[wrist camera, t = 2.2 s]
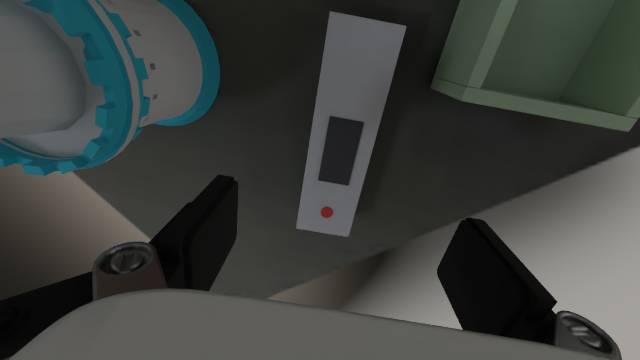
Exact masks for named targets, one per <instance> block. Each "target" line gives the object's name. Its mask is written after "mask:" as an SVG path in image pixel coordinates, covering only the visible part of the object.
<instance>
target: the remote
mask: <svg viewBox="0 0 640 360" xmlns="http://www.w3.org/2000/svg"><path fill="white" fill-rule="evenodd" d="M405 30H406V26H404V25H399V24H394V23H389V22H384V21H379V20H373V19H368V18H363V17H358V16H353V15H347V14H342V13H337V12H332V11H330V14H329V20H328V27H327V33H326V39H325V46H324V52H323V59H322V65H321V72H320V78H319V84H318V91H317V97H316V104H315V110H314V116H313V123H312V129H311V136H310V142H309V148H308V155H307V161H306V168H305V174H304V181H303V187H302V193H301V200H300V206H299V213H298V219H297V225H296V228H297V229H303V230H309V231H315V232H321V233H327V234H333V235H339V236H345V237H348V236H349V233H350V229H351V226H352V222H353V218H354V215H355V211H356V208H357V204H358V200H359V197H360V193H361V190H362V186H363V182H364V179H365V175H366V171H367V168H368V164H369V161H370V157H371V153H372V150H373V146H374V143H375V139H376V135H377V132H378V128H379V124H380V121H381V117H382V114H383V110H384V106H385V103H386V99H387V96H388V92H389V88H390V85H391V81H392V77H393V74H394V70H395V67H396V63H397V59H398V56H399V52H400V49H401V45H402V41H403V38H404V34H405Z"/></svg>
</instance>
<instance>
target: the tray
mask: <svg viewBox="0 0 640 360" xmlns="http://www.w3.org/2000/svg"><path fill="white" fill-rule="evenodd" d="M430 88H431V89H434V90H436V91H439V92H441V93H444V94H446V95H448V96H451V97H453V98H456V99H458V100H460V101H464V102H470V103H475V104H480V105H486V106H491V107H497V108H502V109H507V110H513V111H518V112H524V113H529V114H534V115H540V116H545V117H551V118H556V119H561V120H567V121H572V122H578V123H583V124H588V125H594V126H599V127H605V128H610V129H615V130H621V131H626V132H627V131H629V130H630V129H631V128H632V126H633V125H634V124H635V122H636V121H637V118H639V117H640V0H460V2H459V5H458V8H457V11H456V14H455V17H454V19H453V22H452V25H451V28H450V31H449V34H448V37H447V40H446V43H445V46H444V48H443V51H442V54H441V57H440V60H439V63H438V66H437V69H436V72H435V75H434V78H433V80H432V83H431V86H430Z"/></svg>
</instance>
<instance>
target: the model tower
mask: <svg viewBox="0 0 640 360" xmlns="http://www.w3.org/2000/svg"><path fill="white" fill-rule="evenodd" d="M219 85H220V64H219V58H218V53H217V50H216V47H215V44H214V41H213V38H212V36H211V35H210V33H209V31H208V29H207V27H206V26H205V24H204V22H203V21H202V20H201V18H200V17H199V16H198V15H197V13H196V12H195V11H194V9H193V8H192V7H190V6H189V5H188V4H187V3H186V2H185V1H184V0H0V166H2V167H6V166H9V165H12V164H15V163H17V164H21V165H22V166H23V169H24V172H25V173H27V174H35V175H44V176H45V175H47V174H49V173H52V172H54V171H61V173H62V174H64V173H67V172H70V171H73V170H76V169H86V168H90V167H93V166H96V165H99V164H102V163H104V162H106V161H108V160H110V159H112V158H113V157H115V156H116V155H117V154H119V153H120V152H122V151H123V150H124V148H125V147H126V146H127V145H128V143H129V142H131V141H133V140H134V139H135V138H136V137H137V136H138V134H139V133H140V132H141V131H142V128H141V127H143V126H146V125H148V124H151V123H153V124H158V125H166V126H179V125H185V124H188V123H191V122H194V121H196V120H197V119H199V118H200V117H202V116H203V115H204V114H205V113H206V112H207V111H208V110H209V109H210V107H211V106H212V104H213V102H214V100H215V98H216V96H217V93H218V89H219Z"/></svg>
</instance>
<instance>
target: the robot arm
mask: <svg viewBox="0 0 640 360" xmlns="http://www.w3.org/2000/svg"><path fill="white" fill-rule="evenodd" d="M237 208H238V182H237V181H234V178H233V177H230V176H224V175H218V176H217V177H216V178H215V179H214V180H213V181H212V182H211V183H210V184H209V185H208V186H207V187H206V188H205V189H204V190H203V191H202V192H201V193H200V194H199V195H198V196H197V197H196V198H195V199H194V201H193V202H189V203H188V204H186V205H185V206H184V207H183V208H182V209H181V210H180V211H179V212H178V213H177V214H176V215H175V216H174V217H173V218H172V219H171V220H170V221H169V222H168V223H167V224H166V226H165V227H164V228H163V229H162V230H161V231H160V232H159V233H158V234H157V235H156V236H155V237H154V238H153V239H152V240H151V241H150V242H149V243H145V242H129V243H123V244H120V245H117V246H114V247H112V248H110V249H108V250H106V251H105V252H103V253H102V254H101V255H100V256H99V257H98V258H97V259H96V261H95V262H94V264H93V268H92V272H88V273H85V274H82V275H79V276H76V277H73V278H70V279H66V280H63V281H60V282H57V283H54V284H51V285H48V286H45V287H41V288H38V289H36V290H32V291H29V292H26V293H23V294H20V295H16V296H13V297H10V298H7V299H4V300H1V301H0V360H622V358H621V353H620V350H619V348H618V346H617V344H616V343H615V342H614V341H613V340H612V338H611V337H610V336H609V335H608V334H607V333H606V332H605V331H604V330H602V329H601V328H600V327H598V326H597V325H596V324H594V323H593V322H591V321H589V320H588V319H586V318H584V317H582V316H580V315H578V314H576V313H573V312H569V311H560V312H558V313H557V314H555V313H554V312H553V311H552V308H553V307H554V306H555V304H556V303H557V301H556V300H555V299H554V298H553V296H552V295H551V294H550V293H549V292H548V291H547V290H546V289H545V288H544V286H543V285H542V284H541V283H540V282H539V281H538V280H537V279H536V278H535V276H534V275H533V274H532V273H531V272H530V271H529V270H528V269H527V268H526V267H525V265H524V264H523V263H522V262H521V261H520V260H519V259H518V258H517V257H516V255H515V254H514V253H513V252H512V251H511V250H510V249H509V248H508V247H507V245H506V244H504V242H503V241H502V240H501V239H500V238H499V237H498V236H497V234H496V233H495V232H494V231H493V230H492V229H491V228H490V227H489V226H488V224H487V223H486V222H484V221H483V220H480V219H474V218H466V219H465V220H462V221H461V222H460V224H459V226H458V228H457V230H456V232H455V234H454V236H453V238H452V240H451V242H450V244H449V246H448V248H447V250H446V252H445V254H444V256H443V258H442V260H441V262H440V264H439V266H438V269H437V275H438V278H439V280H440V282H441V284H442V286H443V288H444V290H445V293H446V295H447V297H448V299H449V301H450V303H451V305H452V308H453V310H454V312H455V314H456V316H457V318H458V320H459V323H460V324H461V327H462V329H463V330H459V329H454V328H448V327H441V326H435V325H429V324H423V323H417V322H410V321H404V320H397V319H392V318H385V317H379V316H373V315H366V314H360V313H354V312H347V311H341V310H334V309H328V308H321V307H315V306H308V305H302V304H295V303H288V302H282V301H275V300H269V299H262V298H255V297H249V296H242V295H235V294H227V293H219V292H210V291H209V290H210V288H211V286H212V284H213V282H214V281H215V279H216V277H217V275H218V273H219V271H220V269H221V267H222V265H223V264H224V262H225V260H226V258H227V256H228V254H229V252H230V250H231V248H232V246H233V245H234V243H235V240H236V235H237Z"/></svg>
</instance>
